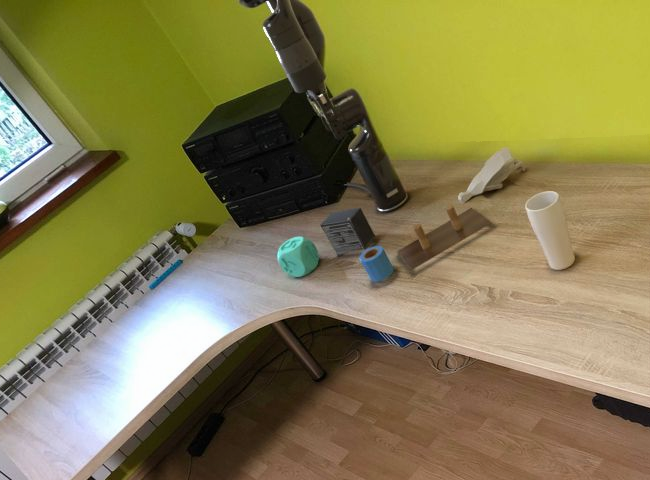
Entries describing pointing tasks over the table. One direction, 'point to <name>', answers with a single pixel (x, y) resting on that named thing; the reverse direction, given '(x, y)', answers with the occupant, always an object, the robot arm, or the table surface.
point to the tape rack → (442, 236)
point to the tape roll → (376, 263)
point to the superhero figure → (491, 174)
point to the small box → (348, 230)
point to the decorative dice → (298, 256)
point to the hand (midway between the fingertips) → (336, 133)
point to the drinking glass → (551, 228)
